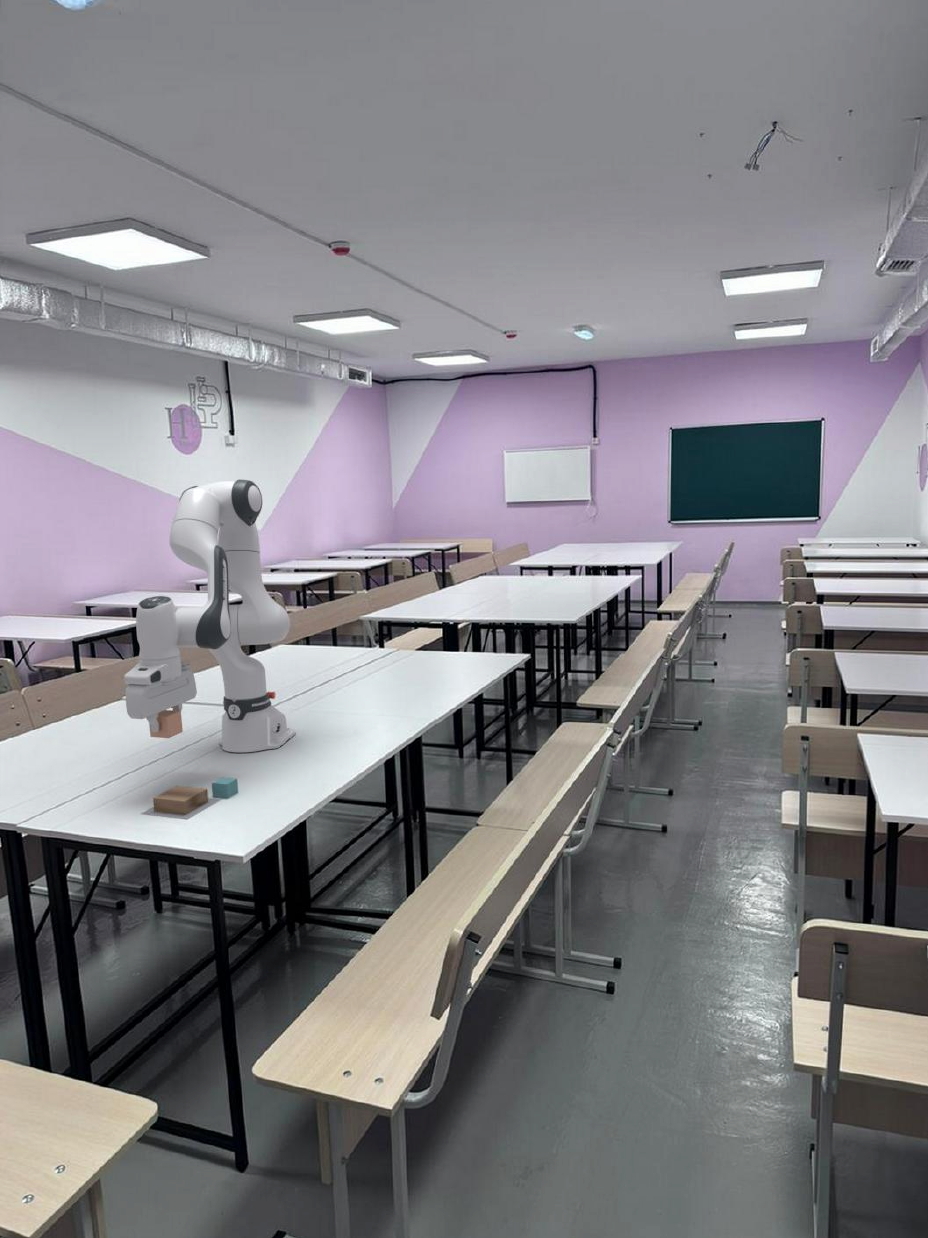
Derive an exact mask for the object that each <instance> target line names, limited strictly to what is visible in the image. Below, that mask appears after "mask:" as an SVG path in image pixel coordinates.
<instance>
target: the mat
mask: <svg viewBox="0 0 928 1238" xmlns="http://www.w3.org/2000/svg"><path fill="white" fill-rule="evenodd" d="M220 801H222V798H213V797H212V798H210V797H208V802H207V803H205V804H204V805H202V806H200V807H198V808H197V809H195V810H193V811H191V812H190V813H188V814H186V815H181V814H172V813H163V812H154V806H152V807H151V808H149V809H147V810H144V811H143V812H141V813H140V815H143V816H153V817H161V818H162V817H163V818H169V819H180V820H189V819H190V818H193V817H195V816H196V815H198V814H200V813H201V812H203V811H205V810H206V809H208V808H209V807H211V806H213V805H215V804H216V803H217V804H218V803H219V802H220Z"/></svg>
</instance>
